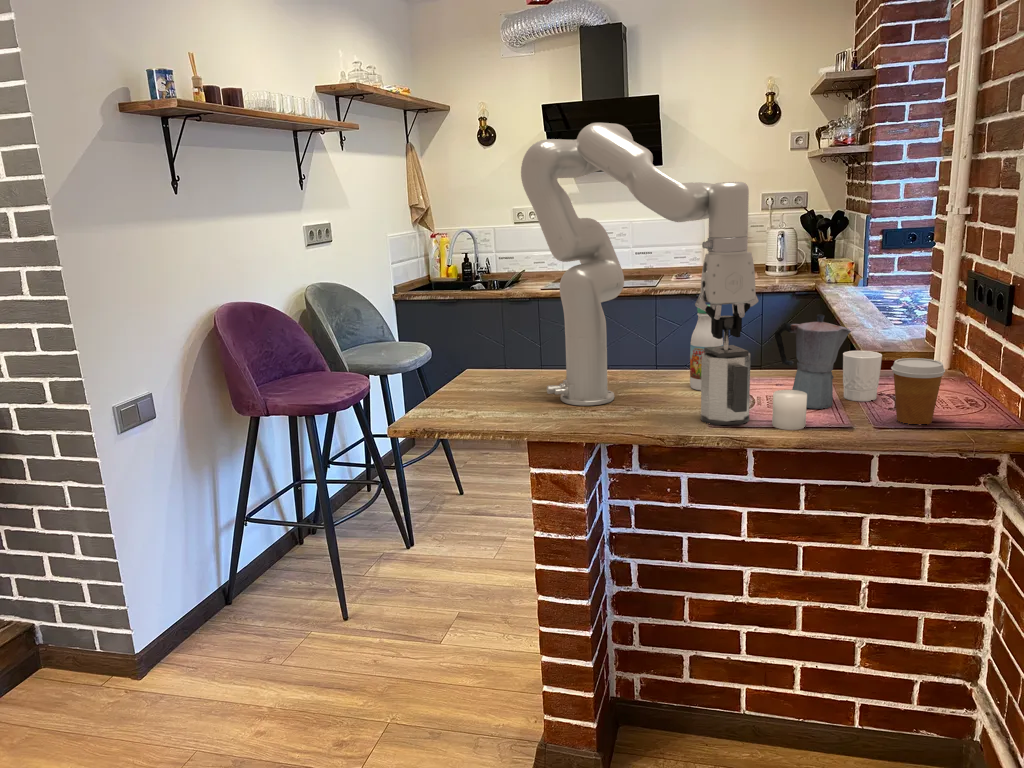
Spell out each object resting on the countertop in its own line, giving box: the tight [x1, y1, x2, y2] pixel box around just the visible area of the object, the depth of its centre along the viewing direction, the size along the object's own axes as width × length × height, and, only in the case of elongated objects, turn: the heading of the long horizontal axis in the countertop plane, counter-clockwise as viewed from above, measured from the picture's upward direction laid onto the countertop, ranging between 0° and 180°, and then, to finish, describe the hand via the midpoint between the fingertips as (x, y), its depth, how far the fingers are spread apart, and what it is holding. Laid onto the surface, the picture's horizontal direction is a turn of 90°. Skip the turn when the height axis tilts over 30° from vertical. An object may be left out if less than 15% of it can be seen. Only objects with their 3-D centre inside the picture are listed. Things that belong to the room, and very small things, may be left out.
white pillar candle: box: [771, 389, 807, 431], centre depth 160 cm, size 6×6×7 cm
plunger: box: [720, 315, 735, 350], centre depth 163 cm, size 7×7×14 cm
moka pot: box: [774, 313, 852, 410], centre depth 172 cm, size 10×15×20 cm, turn 78°
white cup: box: [842, 350, 883, 402], centre depth 177 cm, size 8×8×10 cm
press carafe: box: [700, 344, 752, 426], centre depth 164 cm, size 10×12×15 cm
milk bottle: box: [689, 304, 724, 391], centre depth 191 cm, size 8×8×20 cm
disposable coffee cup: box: [890, 357, 946, 425], centre depth 158 cm, size 10×10×12 cm
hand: (726, 336), depth 163 cm, fingers closed on plunger, 3 cm apart
